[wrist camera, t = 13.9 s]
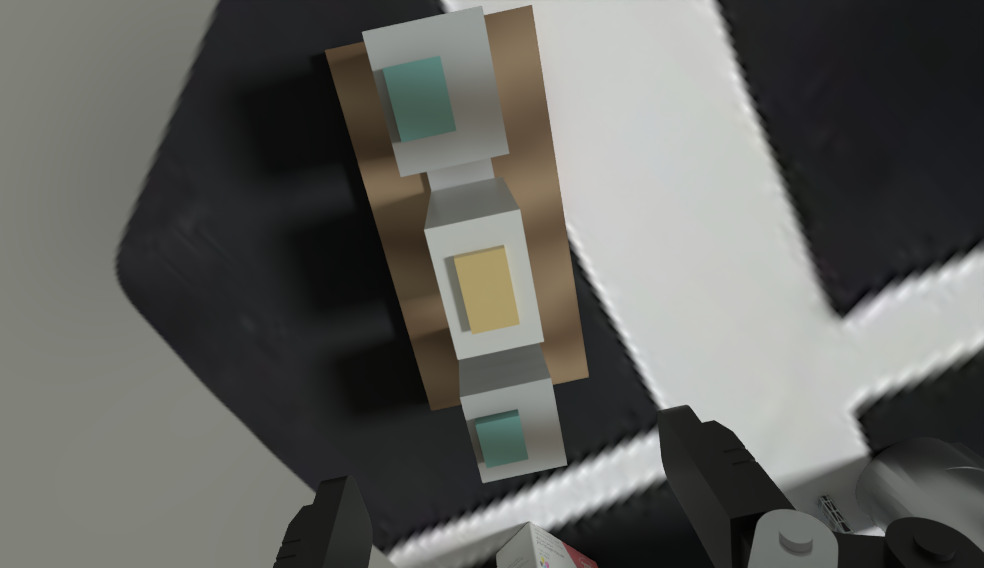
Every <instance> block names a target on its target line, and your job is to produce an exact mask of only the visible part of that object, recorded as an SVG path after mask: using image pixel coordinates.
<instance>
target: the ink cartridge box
mask: <svg viewBox="0 0 984 568" xmlns="http://www.w3.org/2000/svg"><path fill="white" fill-rule="evenodd" d="M496 560H497V568H598V566H597V563H596V562H595V561H593V560H591V559H589V558H588V557H586V556H585V555H583V554H581V553H580V552H578V551H576V550H575V549H573V548H572V547H570V546H568V545H567V544H565V543H564V542H562V541H561V540H559V539H557V538H556V537H554V536H552V535H551V534H549V533H548V532H546V531H544V530H543V529H541V528H540V527H538V526H536V525H535V524H533V523H531V522H528V523H527V524H526V525H525V526H524V527H523V528H522V529H521V530H520V531H519V532H518V533H517V534H516V535H515V536H514V537H513V538H512V539H511V540H510V541H509V542H508V543H507V544H506V545H505V546H504V547H503V548H502V549H501V550H500V551H499V552H498V553H497V554H496Z"/></svg>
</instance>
